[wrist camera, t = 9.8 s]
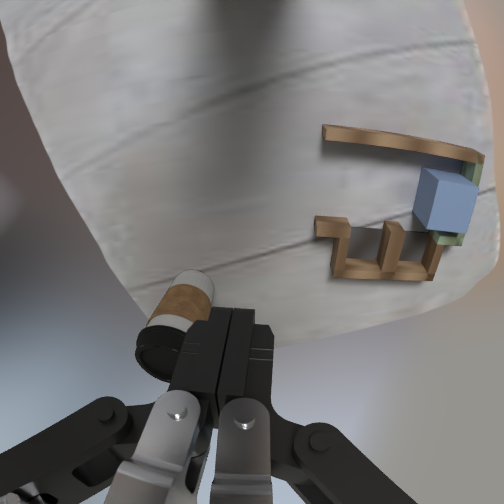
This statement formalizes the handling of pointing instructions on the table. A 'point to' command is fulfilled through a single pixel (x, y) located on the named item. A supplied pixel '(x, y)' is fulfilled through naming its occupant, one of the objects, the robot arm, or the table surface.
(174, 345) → the coffee cup
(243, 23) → the table surface
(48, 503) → the robot arm
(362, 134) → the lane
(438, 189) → the block
